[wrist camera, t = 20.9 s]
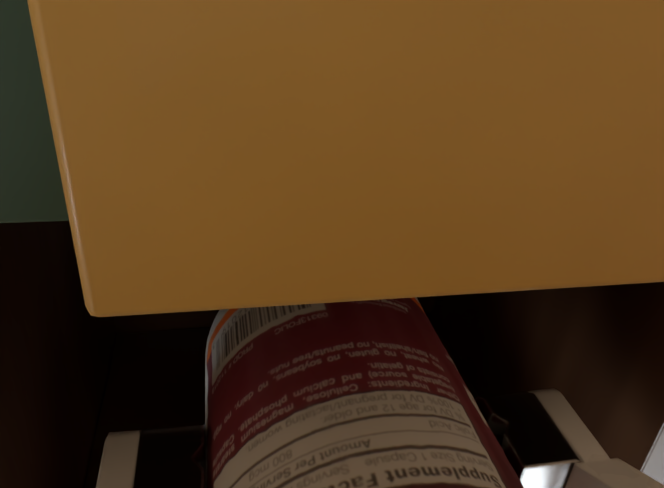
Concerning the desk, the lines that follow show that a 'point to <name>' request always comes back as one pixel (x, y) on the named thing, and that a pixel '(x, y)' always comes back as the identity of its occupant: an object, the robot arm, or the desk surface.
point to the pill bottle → (342, 402)
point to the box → (190, 346)
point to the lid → (335, 146)
